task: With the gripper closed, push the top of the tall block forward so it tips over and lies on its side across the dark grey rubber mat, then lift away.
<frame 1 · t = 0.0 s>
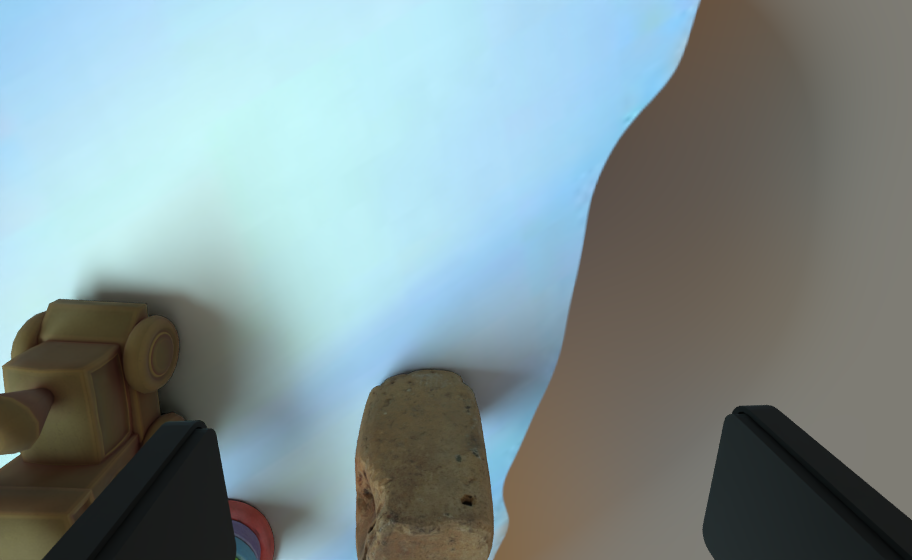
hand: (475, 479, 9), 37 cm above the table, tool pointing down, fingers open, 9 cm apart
wooden toy train: (134, 385, 48), on the table
stacking bear: (231, 531, 55), on the table
block: (422, 396, 50), on the table
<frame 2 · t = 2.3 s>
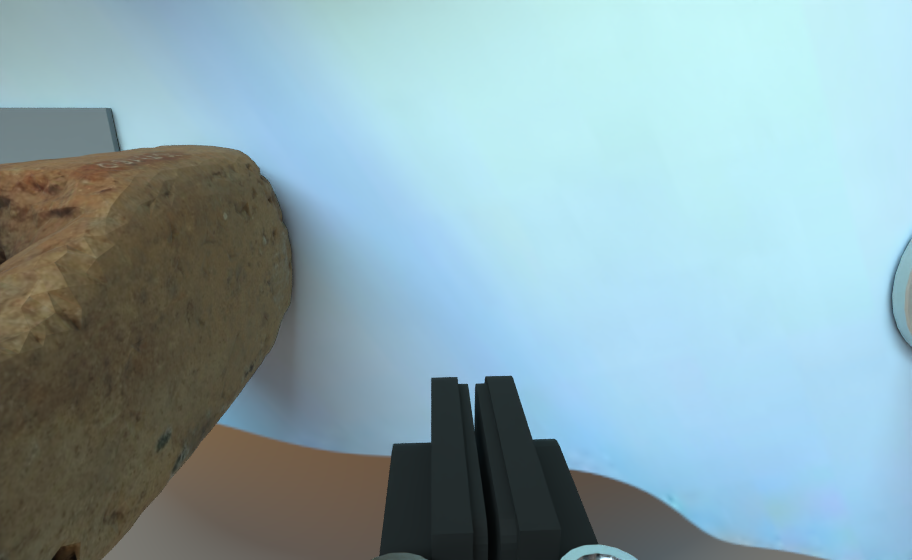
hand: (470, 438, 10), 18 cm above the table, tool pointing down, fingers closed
block: (230, 240, 27), on the table
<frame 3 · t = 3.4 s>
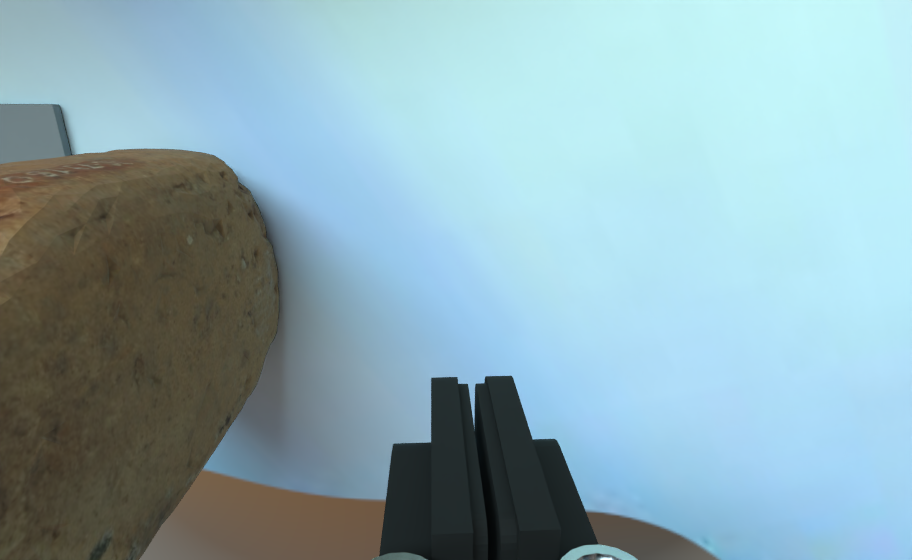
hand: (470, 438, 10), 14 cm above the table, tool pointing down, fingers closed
block: (206, 258, 23), on the table
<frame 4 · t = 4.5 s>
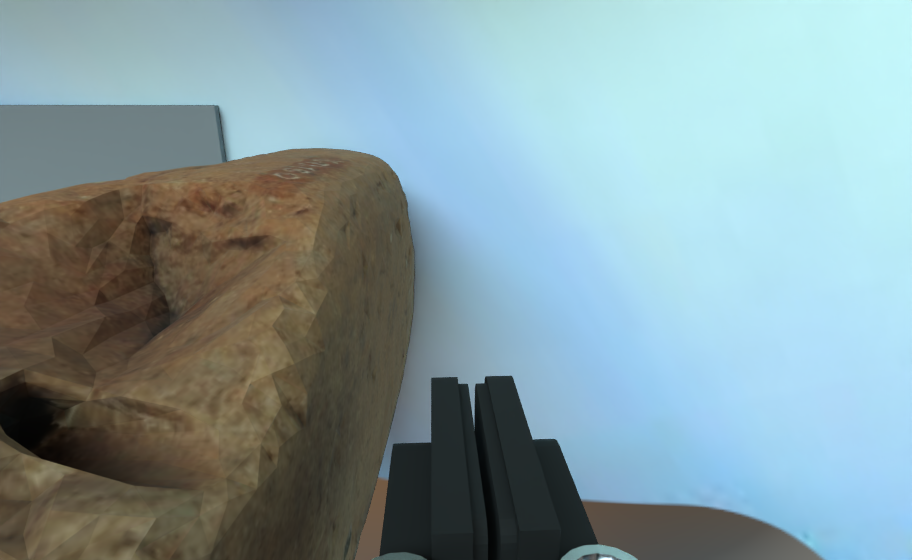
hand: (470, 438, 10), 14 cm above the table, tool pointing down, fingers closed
mat: (44, 240, 23), on the table
block: (343, 257, 24), on the table, touching gripper
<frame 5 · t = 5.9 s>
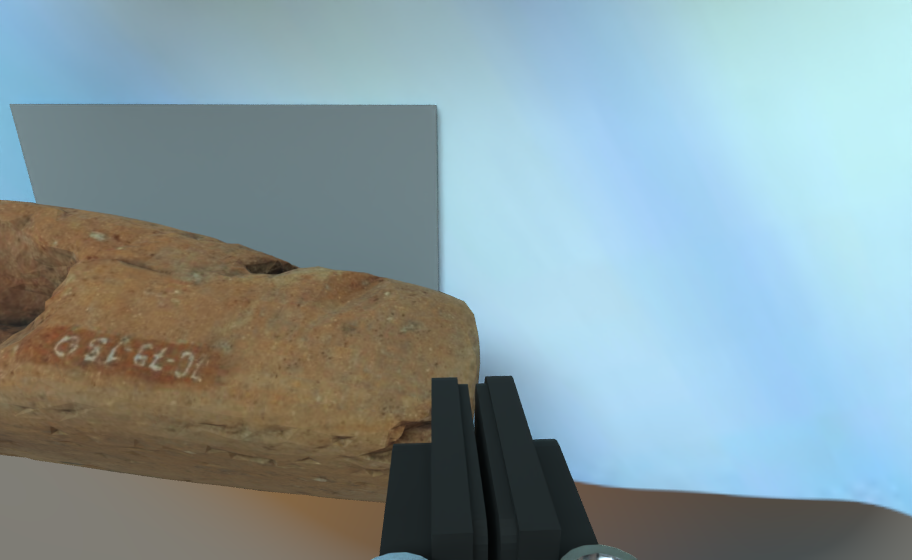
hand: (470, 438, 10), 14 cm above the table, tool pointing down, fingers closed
mat: (248, 238, 23), on the table
block: (459, 404, 20), point 6 cm above the table
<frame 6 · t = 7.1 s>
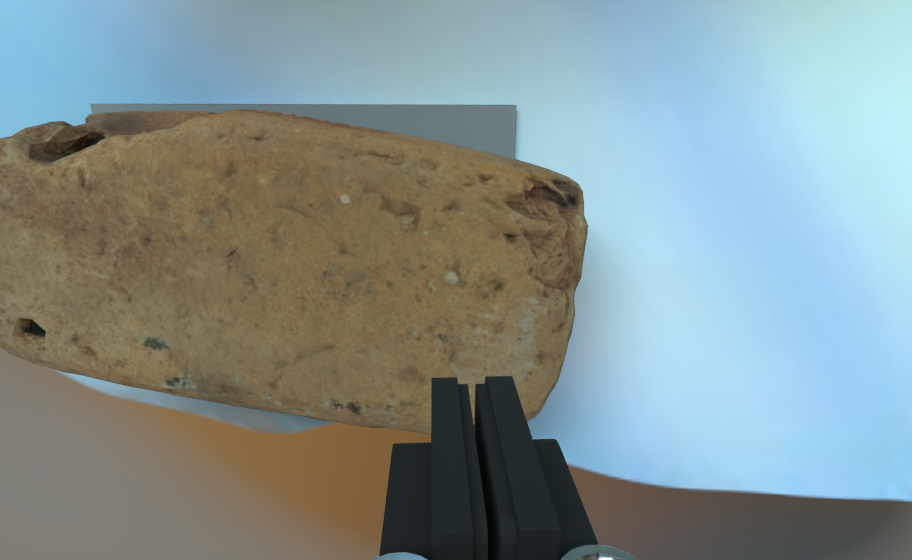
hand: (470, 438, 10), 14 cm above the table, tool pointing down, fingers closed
mat: (321, 239, 23), on the table
block: (557, 304, 20), point 4 cm above the table, touching mat
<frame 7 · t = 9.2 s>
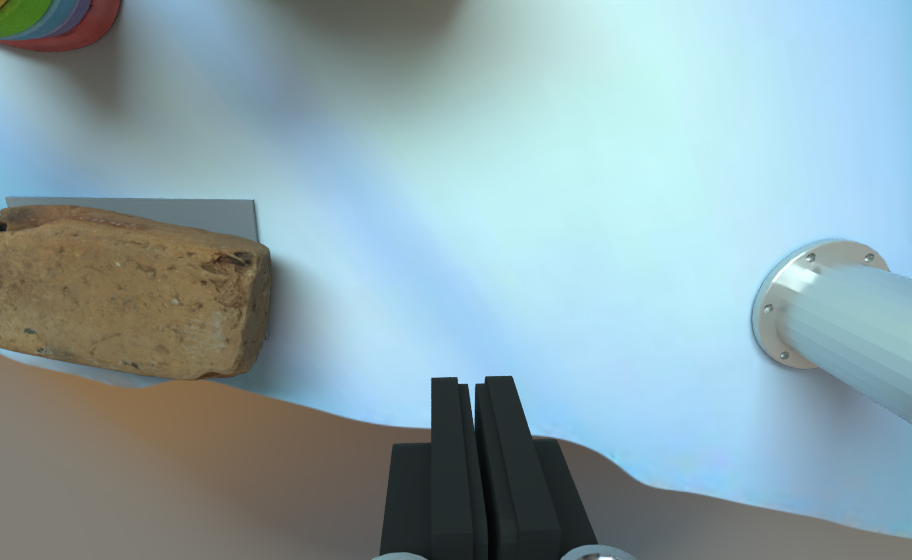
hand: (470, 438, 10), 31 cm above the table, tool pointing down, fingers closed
mat: (147, 272, 39), on the table
block: (264, 313, 36), point 4 cm above the table, touching mat
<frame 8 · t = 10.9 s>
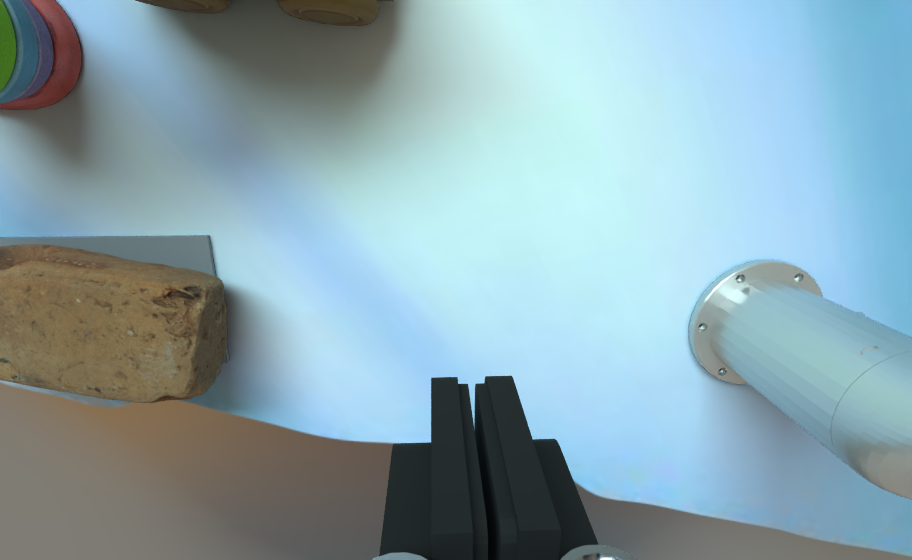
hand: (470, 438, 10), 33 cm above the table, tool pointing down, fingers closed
stacking bear: (17, 42, 36), on the table
mat: (116, 302, 43), on the table
block: (217, 340, 40), point 4 cm above the table, touching mat
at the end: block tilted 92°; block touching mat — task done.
